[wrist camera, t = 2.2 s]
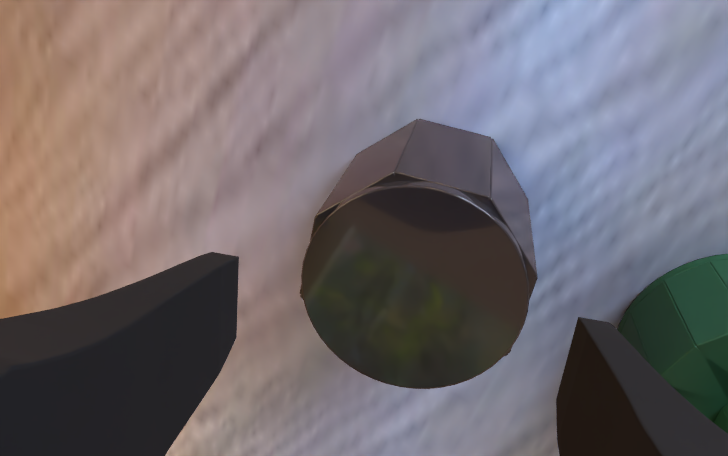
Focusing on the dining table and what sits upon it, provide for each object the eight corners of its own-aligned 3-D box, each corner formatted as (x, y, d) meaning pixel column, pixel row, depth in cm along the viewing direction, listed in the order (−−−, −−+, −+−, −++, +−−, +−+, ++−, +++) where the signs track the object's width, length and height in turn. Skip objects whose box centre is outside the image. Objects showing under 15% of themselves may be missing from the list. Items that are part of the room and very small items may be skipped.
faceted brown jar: (545, 151, 20) (562, 222, 15) (492, 306, 22) (490, 414, 17) (366, 104, 20) (323, 158, 15) (332, 262, 22) (284, 354, 17)
